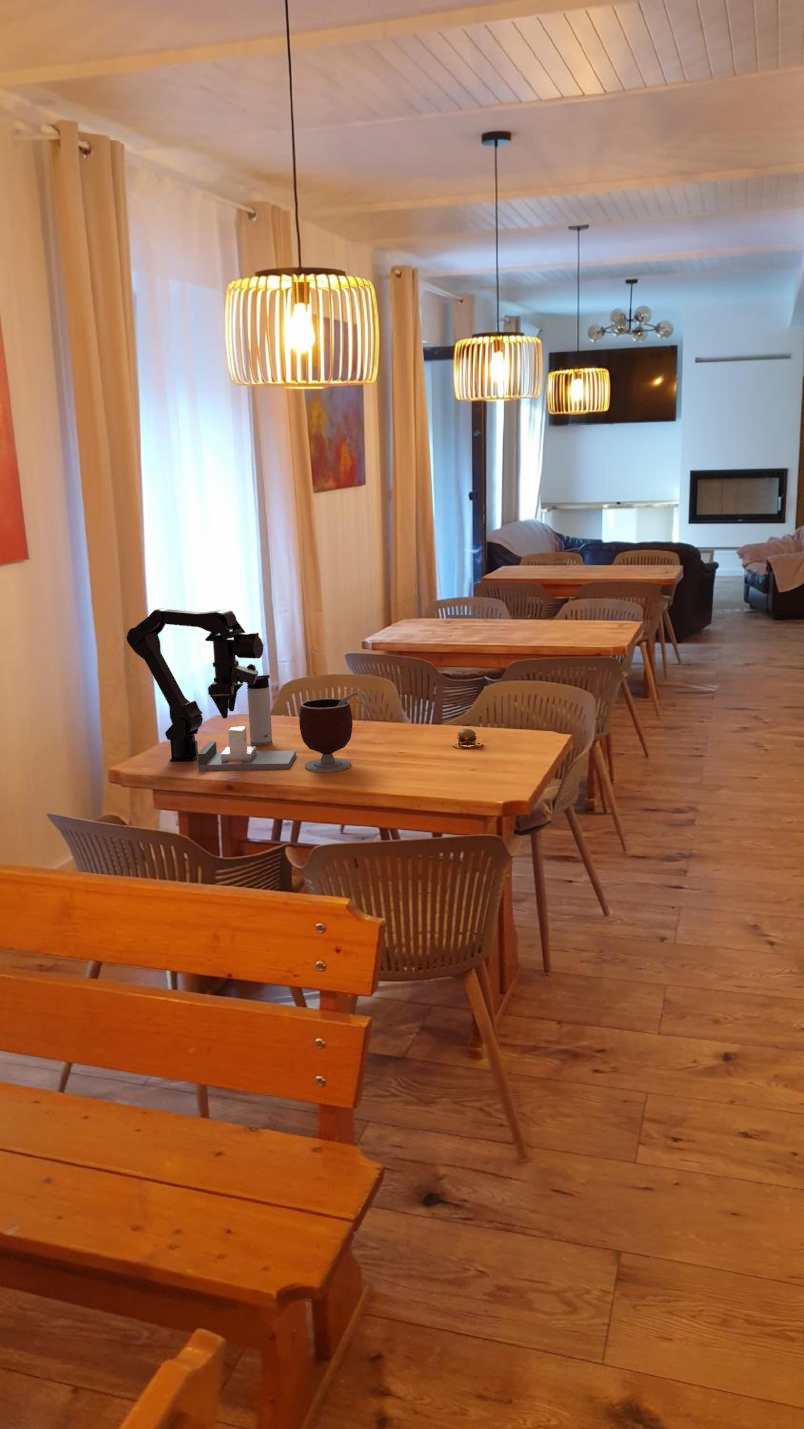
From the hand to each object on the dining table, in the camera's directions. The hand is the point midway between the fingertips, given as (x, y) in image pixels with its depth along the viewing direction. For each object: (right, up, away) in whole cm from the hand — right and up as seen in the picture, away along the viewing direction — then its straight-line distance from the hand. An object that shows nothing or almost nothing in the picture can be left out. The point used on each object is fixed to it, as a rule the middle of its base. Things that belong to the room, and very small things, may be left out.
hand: (228, 714), depth 307 cm
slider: (+3, -11, 0) cm, 12 cm away
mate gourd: (+28, -14, -6) cm, 32 cm away
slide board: (+5, -13, +1) cm, 14 cm away
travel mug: (+6, -9, +22) cm, 24 cm away
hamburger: (+65, -10, +12) cm, 67 cm away
